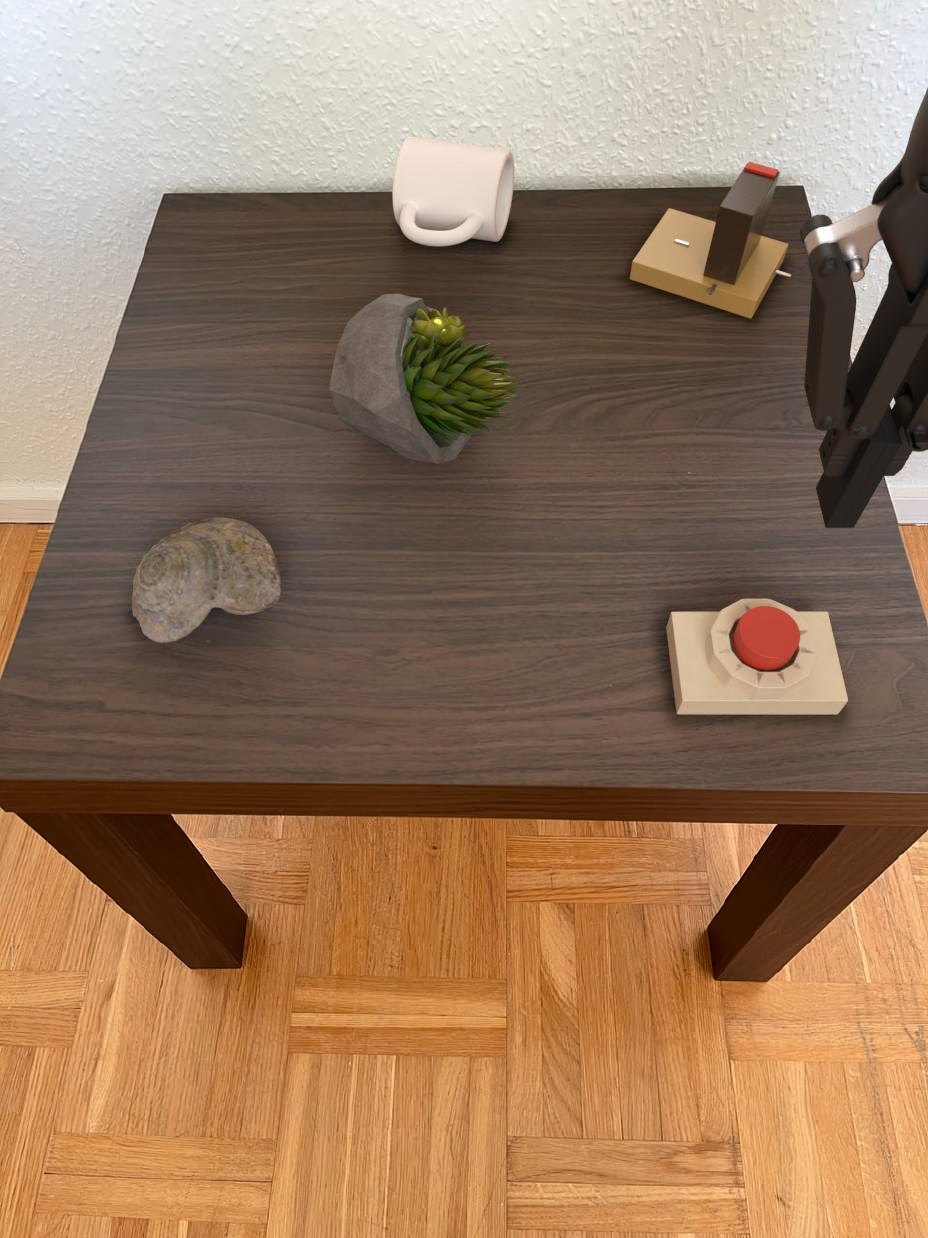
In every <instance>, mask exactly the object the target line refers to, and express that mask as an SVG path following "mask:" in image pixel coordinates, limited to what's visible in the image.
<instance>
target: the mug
mask: <svg viewBox="0 0 928 1238" xmlns="http://www.w3.org/2000/svg"><path fill="white" fill-rule="evenodd" d="M514 186H515V158H514V154H513V152H512V151H511V150H509V149H503V148H495V147H490V146H489V147H488V146H483V145H474V144H468V143H460V142H454V141H447V140H439V139H432V138H425V137H418V136H412V135H411V136H408V137H406V138H405V139H404V140H403V142H402V143H401V145H400V147H399V151H398V152H397V156H396V161H395V165H394V170H393V179H392V193H391V194H392V195H391V196H392V210H393V215H394V219H395V222H396V224H397V225H398V226H399V227H400V230H401V232H402V234H403V235H404V236H405V237H406V238H407V239H408V240H410V241H412V242H414V243H416V244H419V245H421V246H422V245H423V246H427V247H449V246H455V245H458V244H462V243H464V242H467V241H468V240H470V239H474V240H480V241H485V242H492V243H498V242H499V241H500V240H501V239H502V238H503V236H504V234H505V232H506V228H507V225H508V221H509V217H510V213H511V208H512V202H513V194H514Z"/></svg>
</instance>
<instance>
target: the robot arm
mask: <svg viewBox="0 0 928 1238" xmlns="http://www.w3.org/2000/svg"><path fill="white" fill-rule="evenodd" d="M799 234H800V238H801V239H800V240H801V242H802V246H803V249H804V253H805V256H806V261H807V264H808V268H809V270H810V275H811V277H812V279H811V291H810V305H809V316H808V317H809V319H808V330H807V344H806V358H805V370H804V383H803V387H804V391H805V396H806V400H807V404H808V407H809V411H810V415H811V418H812V422H813V428H815V429H816V430H818V431H821V432H824V431H825V435H824V437H823V439H822V441H821V443H820V446H819V447H818V452H819V458H820V461H821V466H822V470H823V472H822V473H821V476H820V478H819V480H818V482H817V484H816V486H815V490H816V495H817V499H818V503H819V508H820V511H821V515H822V519H823V524H824V528H825V529H854V528H855V527H856V526H857V523H858V522H859V520H860V518H861V516H862V515H863V513H864V511H865V510H866V508H867V506H868V504H869V502H870V501H871V500H872V498H873V495H874V494H875V492H876V490H877V489H878V487H879V485H880V483H881V482H882V480H883V478H884V477H895V476H896V475H897V474H898V473H900V472H901V471H902V470H903V469H904V467H905V465H906V463H907V461H908V460H909V458H910V456H911V455H912V453H913V452H916V453H921V452H926V451H928V87H927V88H926V91H925V93H924V95H923V98H922V101H921V103H920V106H919V107H918V110H917V113H916V115H915V118H914V121H913V124H912V126H911V130H910V134H909V136H908V141H907V144H906V148H905V151H904V153H903V155H902V158H901V159H900V160H899V162H897V164H896V166H895V167H894V168H893V169H892V171H890V173H888V175H886V177H884V178H883V179H882V180H881V182H880V183H879V184H878V186H877V187H876V189H875V190H874V193H873V196H872V199H871V204H870V205H868V206H866V207H863V208H862V209H860V210H858V211H856V212H854V213H852V214H850V215H848V216H846V217H843V218H842V219H839V220H837V221H835V222H833V221H832V219H831V218H830V217H829V215H826V214H815V215H812V216H810V217H808V218H807V219H806V220H805V221H804V222H803V223H802V225H800V229H799ZM881 241H882V242H883V245H884V247H885V250H886V252H887V254H888V257H889V259H890V261H891V262H890V263H891V264H890V266H889V269H888V275H887V281H888V282H887V287H886V289H885V291H884V294H883V296H882V298H881V300H880V302H879V304H878V307H877V309H876V310H875V313H874V315H873V318H872V320H871V321H870V324H869V326H868V329H867V330H866V333H865V334H864V337H863V339H862V342H861V343H860V345H859V348H858V351H857V352H856V355H855V357H854V359H853V361H852V363H851V366H850V367H849V365H850V358H851V350H852V343H853V336H854V335H853V334H854V327H855V320H856V312H857V293H856V288H855V285H854V283H858V282H860V281H862V280H864V278H865V276H866V271H865V270H866V269H867V267H868V266H869V264H870V254H871V251H872V249H873V248H874V247H875V246H876V245H877V244H878V243H879V242H881ZM892 401H894V404H893V406H891V404H892Z"/></svg>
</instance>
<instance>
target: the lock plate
mask: <svg viewBox="0 0 928 1238" xmlns="http://www.w3.org/2000/svg"><path fill="white" fill-rule="evenodd" d="M715 224H716V221H714V220H710V219H707V218H704V217H701V216H697V215H694V214H690V213H687V212H685V211H681V210H677V209H674V208H670V207H668V209H667V210H666V212H665V213H664V215H663V216H662V217H661V219H660V220H659V222H658V223H657V225H656V226H655V228H654V229H653V230H652V232H651V234H649V236H648V238H647V239H646V240H645V242H644V244H643V245H642V247H641V248H640V250H639V251H638V253H637V254H636V255H635V257H634V259H632V262H631V267H630V273H629V280H631V281H634V282H637V283H640V284H643V285H645V286H650V287H652V288H654V289H655V288H656V289H659V290H660V291H661V290H662V291H665V292H667V293H671V294H673V295H676V296H680V297H683V298H686V299H690V300H692V301H696V302H698V303H702V304H704V305H708V306H711V307H714V308H717V309H720V310H723V311H725V312H729V313H732V314H734V315H738V316H740V317H743V318H748V319H750V320H751V319H752V318H753V316H754V315H755V313H756V311H757V310H758V308H759V306H760V304H761V302H762V301H763V298H764V297H765V295H766V293H767V291H768V290H769V288H770V286H771V284H772V283H773V281H774V279H775V277H776V275H778V276H782V277H784V278H788V279H791V277H792V274H791V273H788V272H784V271H781V270H780V268H781V266H782V264H783V262H784V261H785V256H786V254H787V251H788V249H789V243H787V242H784V241H780V240H776V239H773V238H771V237H767V236H763V235H761V239H760V242H759V243H758V245H757V247H756V248H755V250H754V252H753V254H752V255H751V257H750V259H749V261H748V262H747V264H746V266H745V268H744V269H743V271H742V273H741V274H740V276H739V278H738V280H737V281H736V283H735V285H732V284H728V283H725V282H722V281H719V280H716V279H713V278H709V277H706V276H703V273H704V269H705V265H706V261H707V257H708V253H709V248H710V244H711V240H712V236H713V232H714V228H715Z"/></svg>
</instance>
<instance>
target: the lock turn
mask: <svg viewBox="0 0 928 1238" xmlns="http://www.w3.org/2000/svg"><path fill="white" fill-rule="evenodd" d="M780 174H781V171H779V169H778V168H774V167H771V166H767V165H763V164H759V163H756V162H752V161H748V162H747V163H746V164H745V166H744V167H743V168H742V170H741V171H740V173H739V175H738V177H737V178H736V180H735V181H734V183H733V185H731V187H730V189H729V191H728V193H727V194H726V196H725V197H724V199H723V200H722V202H721V204H720V205H719V207H718V212H717V216H716V219H715V220H716V221H715V222H716V224H715V228H714V232H713V236H712V240H711V244H710V248H709V253H708V257H707V261H706V265H705V269H704V273H703V276H706V277H709V278H713V279H716V280H719V281H722V282H725V283H728V284H732V285H735V283H736V281H737V280H738V278H739V276H740V274H741V273H742V271H743V269H744V268H745V266H746V264H747V262H748V261H749V259H750V257H751V255H752V254H753V252H754V250H755V248H756V247H757V245H758V243H759V242H760V239H761V236H763V235H762V234H763V232H764V227H765V224H766V222H767V217H768V214H769V211H770V208H771V204H772V201H773V198H774V194H775V191H776V189H777V188H776V187H777V184H778V181H779V178H780Z"/></svg>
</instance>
